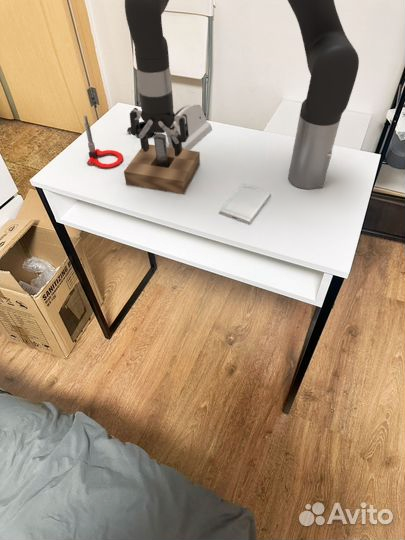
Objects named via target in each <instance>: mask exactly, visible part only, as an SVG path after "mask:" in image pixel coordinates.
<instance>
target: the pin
mask: <svg viewBox="0 0 405 540" xmlns="http://www.w3.org/2000/svg"><path fill="white" fill-rule="evenodd" d="M153 142H154V145H155V152H156V161H157V166H159V167H165V168H169V166H168V155H167V147H168V146H167V135H165V133H155V135H154V136H153Z"/></svg>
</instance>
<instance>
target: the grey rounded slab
mask: <svg viewBox="0 0 405 540" xmlns="http://www.w3.org/2000/svg"><path fill="white" fill-rule="evenodd" d="M173 112H174V114H175V116H182V115H183V114H185V115H186V116H187V122H188V132H189V137H188V138H187V140H186V142H182V149H183V150H190V151H192V149H193V148H194V147H195V146H197V145H198V143H199V142H201V141H202V140H203V139H205V137H207V135H208V134H210V132H212V131H213V128H212V125H211V123H210V122H209V121H207V117H206V116H205V113H204V111H203V108H202V106H201V105H200V104H189V105H185V106H182V107H181V108H179V109H177V110H176V111H173ZM174 124H175V126H176V127H177V130H178V132H179V133H180V126H178V124H177V122H176V121H174ZM169 129H170V130H171V128H169ZM165 134H166V133H165ZM166 139H167V142H168V145H169V147H170V148H174V143H175V142H174V141H173V140H172V138H171V137H169V136H168V135H167V134H166Z"/></svg>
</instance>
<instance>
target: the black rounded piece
mask: <svg viewBox="0 0 405 540" xmlns="http://www.w3.org/2000/svg"><path fill="white" fill-rule="evenodd" d="M145 125H146V123H145V122H144V121H139V126H140V129H143V128H144V126H145ZM126 132H128V133H132V132H131V126H129V127H127V130H126ZM156 134H162V133H161V132H158V131H157V132H153V131H152V130H151V129H149V130H148V132H147V133H146V135H148V139H151V138H154V136H155V135H156ZM135 136H136V137H137V138H138V139H140V138H139V136H137V135H135Z"/></svg>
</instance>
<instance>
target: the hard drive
mask: <svg viewBox="0 0 405 540" xmlns="http://www.w3.org/2000/svg"><path fill="white" fill-rule="evenodd" d="M271 197H272V193H271V192H270V191H269V192H268V191H265V190H264V189H263V190H262V189H260V188H256V187H252V186H250V185H246V184H244V183H243V184H241V185H240V186H239V187H238V188H237V190H236V191H235V192H234V193H233V194H232V196H231V197H230V198H229V199H228V200H227V202H226V203H225V204H224V205H223V206H222V207H221V209H220V210H219V212H218V214H219V215H221V216H224V217H227V218H229V219H232V220H235V221H237V222H241V223H244V224H246V225H248V226H250V225H251V224H252V223H253V221H254V220H255V219H256V217H257V216H258V215H259V214H260V212H261V211H262V209H263V208H264V206H265V205H266V204H267V202H268V201H269V199H270V198H271Z"/></svg>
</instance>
